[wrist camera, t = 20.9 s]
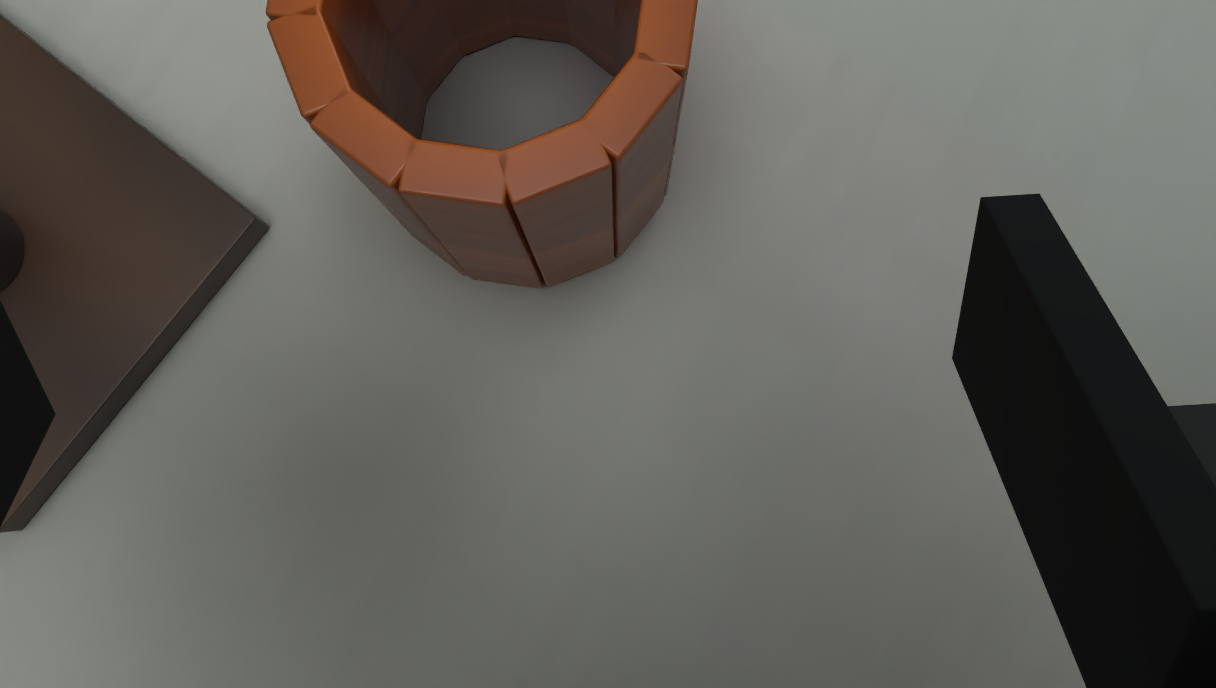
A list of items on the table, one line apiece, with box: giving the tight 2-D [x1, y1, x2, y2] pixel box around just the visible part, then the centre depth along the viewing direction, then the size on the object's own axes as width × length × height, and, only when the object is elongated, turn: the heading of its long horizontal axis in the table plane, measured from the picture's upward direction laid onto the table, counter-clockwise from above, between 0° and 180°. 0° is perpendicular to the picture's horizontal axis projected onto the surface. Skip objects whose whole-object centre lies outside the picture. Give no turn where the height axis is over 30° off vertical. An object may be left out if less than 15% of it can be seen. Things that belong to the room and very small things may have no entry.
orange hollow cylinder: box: [266, 0, 698, 288], centre depth 26 cm, size 8×8×10 cm
